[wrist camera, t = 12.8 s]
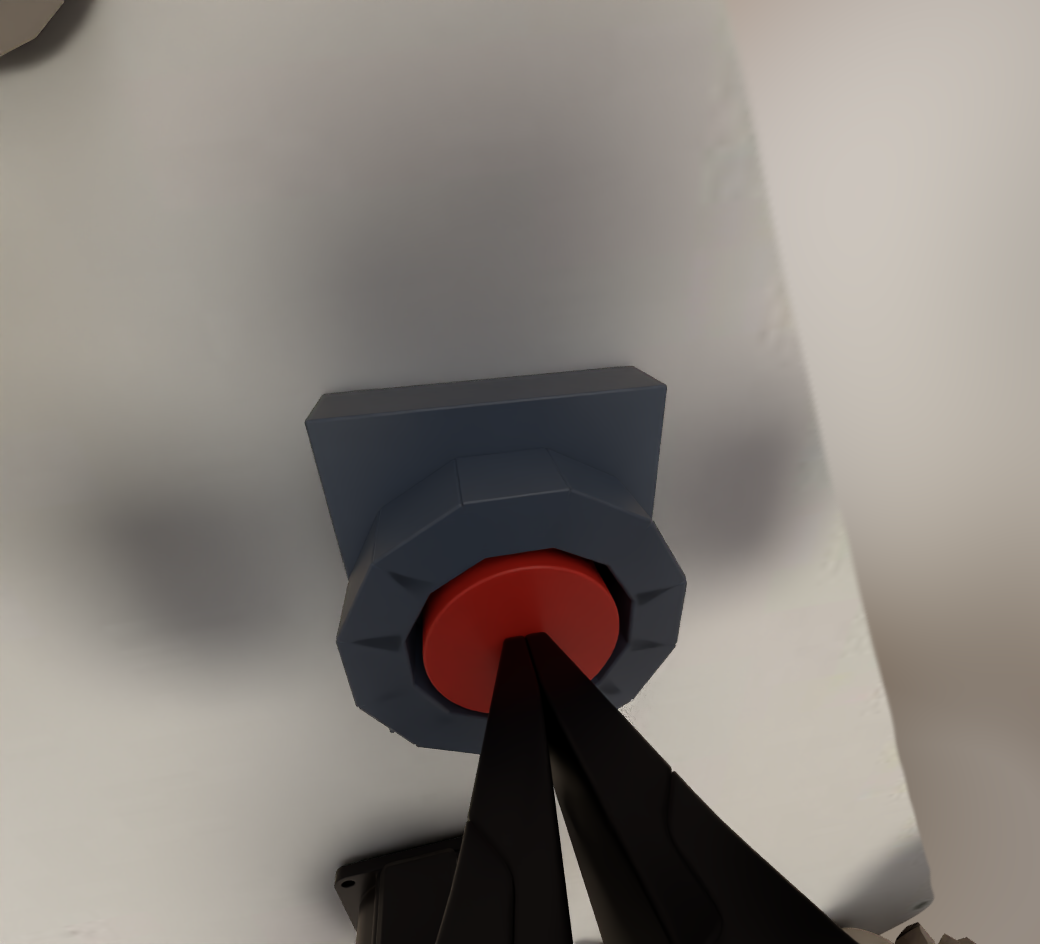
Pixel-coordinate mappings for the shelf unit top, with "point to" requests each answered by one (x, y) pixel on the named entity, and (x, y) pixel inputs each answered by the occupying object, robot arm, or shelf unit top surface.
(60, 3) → the beverage can
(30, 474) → the shelf unit top surface
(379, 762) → the shelf unit top surface
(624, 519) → the button block
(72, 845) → the shelf unit top surface
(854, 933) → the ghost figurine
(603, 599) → the button
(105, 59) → the shelf unit top surface
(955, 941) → the stone
